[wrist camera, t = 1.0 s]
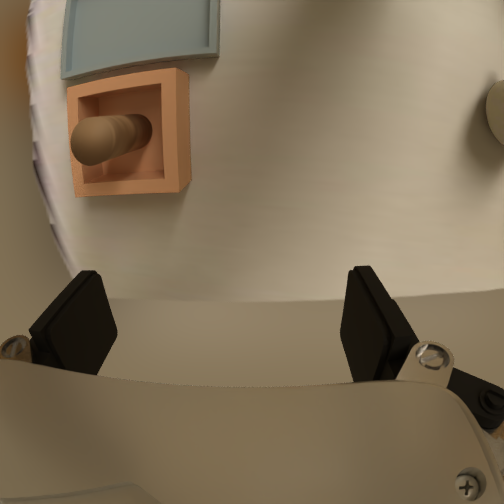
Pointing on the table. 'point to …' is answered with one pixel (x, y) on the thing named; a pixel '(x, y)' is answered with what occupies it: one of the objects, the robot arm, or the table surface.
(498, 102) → the teacup
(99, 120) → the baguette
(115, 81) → the open box
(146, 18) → the tray
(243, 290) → the table surface
